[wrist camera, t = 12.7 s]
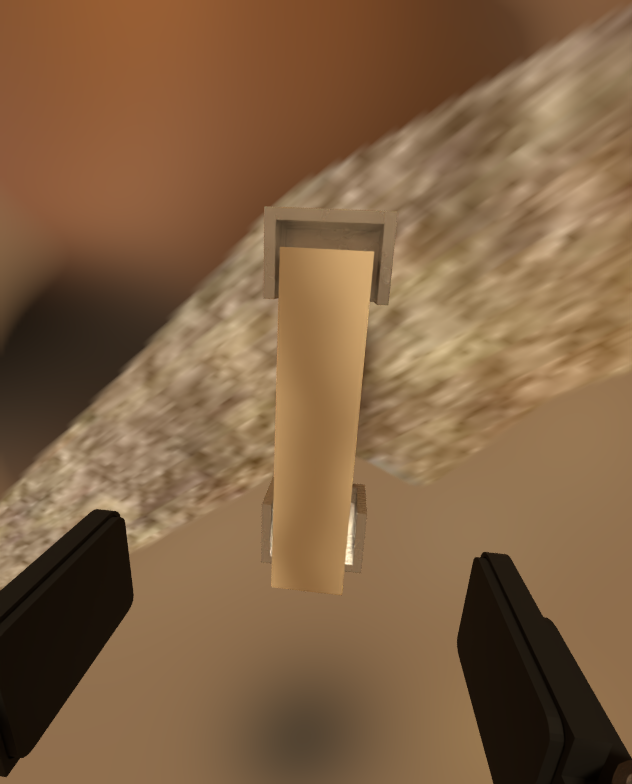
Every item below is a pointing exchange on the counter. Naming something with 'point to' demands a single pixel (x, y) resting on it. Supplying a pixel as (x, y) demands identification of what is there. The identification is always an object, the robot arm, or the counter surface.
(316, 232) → the bracket stand
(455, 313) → the counter surface
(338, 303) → the rail
